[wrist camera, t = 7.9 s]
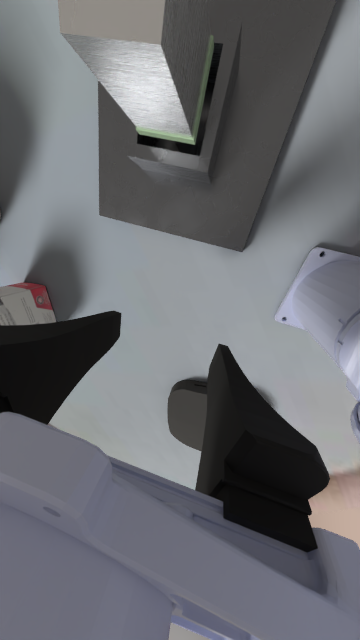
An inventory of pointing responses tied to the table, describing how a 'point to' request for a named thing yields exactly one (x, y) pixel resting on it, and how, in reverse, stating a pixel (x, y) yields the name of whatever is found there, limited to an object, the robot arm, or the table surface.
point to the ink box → (25, 305)
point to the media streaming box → (188, 412)
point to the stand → (217, 127)
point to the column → (146, 58)
